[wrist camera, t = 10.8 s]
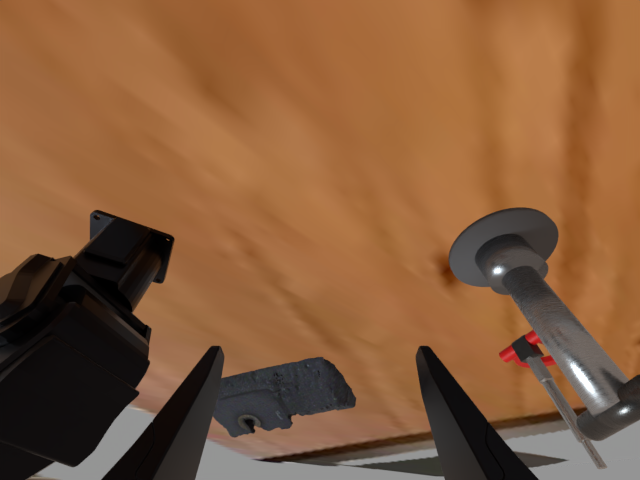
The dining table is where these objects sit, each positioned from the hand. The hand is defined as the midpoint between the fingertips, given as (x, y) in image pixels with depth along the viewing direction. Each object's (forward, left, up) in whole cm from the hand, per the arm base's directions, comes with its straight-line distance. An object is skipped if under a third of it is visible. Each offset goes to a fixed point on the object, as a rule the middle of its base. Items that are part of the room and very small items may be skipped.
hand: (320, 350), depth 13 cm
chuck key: (+3, -17, -12) cm, 21 cm away
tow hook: (-6, -35, -13) cm, 38 cm away
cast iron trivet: (-33, -10, -14) cm, 37 cm away
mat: (+3, -17, -13) cm, 22 cm away
